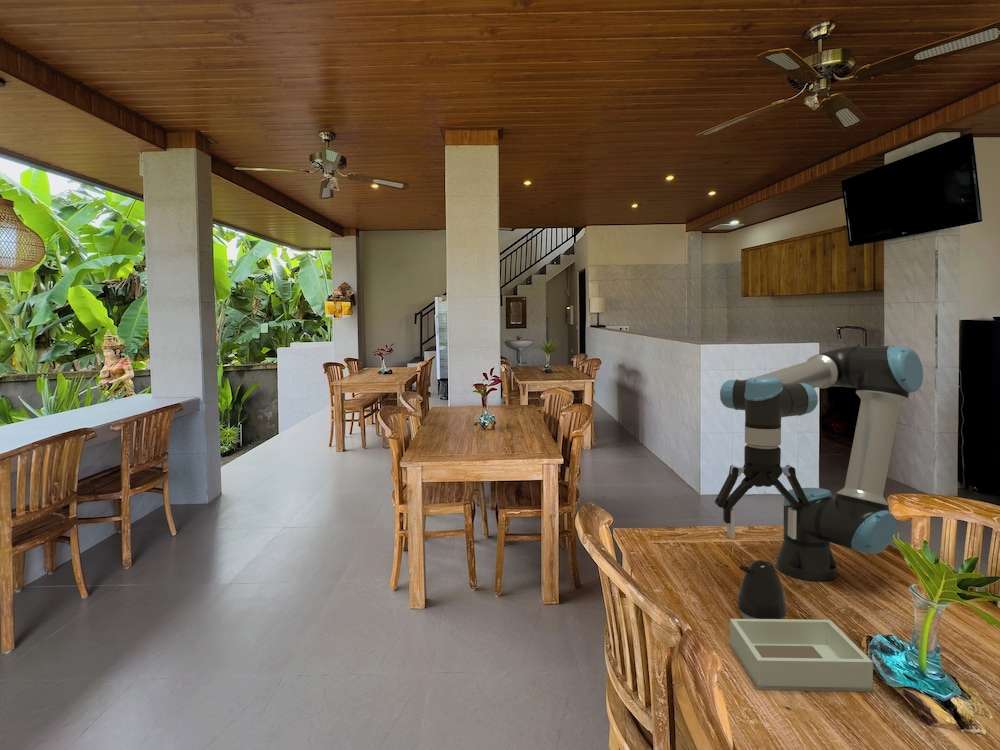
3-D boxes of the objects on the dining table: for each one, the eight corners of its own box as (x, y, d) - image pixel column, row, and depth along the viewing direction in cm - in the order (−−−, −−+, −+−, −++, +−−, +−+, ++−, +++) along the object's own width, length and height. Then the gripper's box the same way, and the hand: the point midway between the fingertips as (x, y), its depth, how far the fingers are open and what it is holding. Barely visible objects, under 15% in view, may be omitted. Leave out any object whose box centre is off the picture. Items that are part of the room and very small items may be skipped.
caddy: (829, 645, 124) (830, 619, 124) (872, 691, 108) (873, 662, 108) (729, 644, 126) (729, 618, 125) (757, 689, 110) (757, 660, 109)
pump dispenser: (728, 615, 139) (729, 553, 138) (770, 612, 140) (770, 551, 138) (750, 637, 128) (751, 570, 127) (795, 634, 129) (796, 568, 128)
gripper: (811, 442, 134) (809, 531, 135) (701, 442, 136) (701, 531, 137) (827, 448, 126) (825, 543, 128) (711, 448, 128) (710, 542, 130)
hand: (761, 537), depth 132 cm, fingers open, 13 cm apart
